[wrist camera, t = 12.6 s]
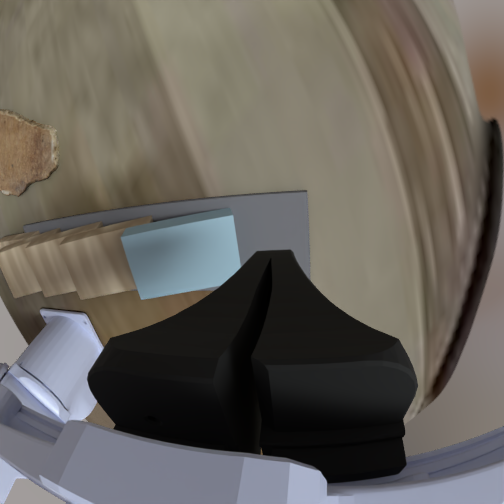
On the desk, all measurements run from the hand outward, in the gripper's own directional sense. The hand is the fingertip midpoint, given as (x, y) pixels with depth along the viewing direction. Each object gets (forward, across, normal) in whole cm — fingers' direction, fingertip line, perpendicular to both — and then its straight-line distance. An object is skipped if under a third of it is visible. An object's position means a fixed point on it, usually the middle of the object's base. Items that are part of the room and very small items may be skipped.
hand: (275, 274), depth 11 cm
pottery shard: (+10, +24, -8) cm, 27 cm away
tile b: (+8, +13, +2) cm, 16 cm away
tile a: (+8, +9, +2) cm, 12 cm away
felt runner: (+9, +11, +3) cm, 15 cm away
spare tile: (+8, +3, +2) cm, 9 cm away
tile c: (+8, +18, +2) cm, 20 cm away
